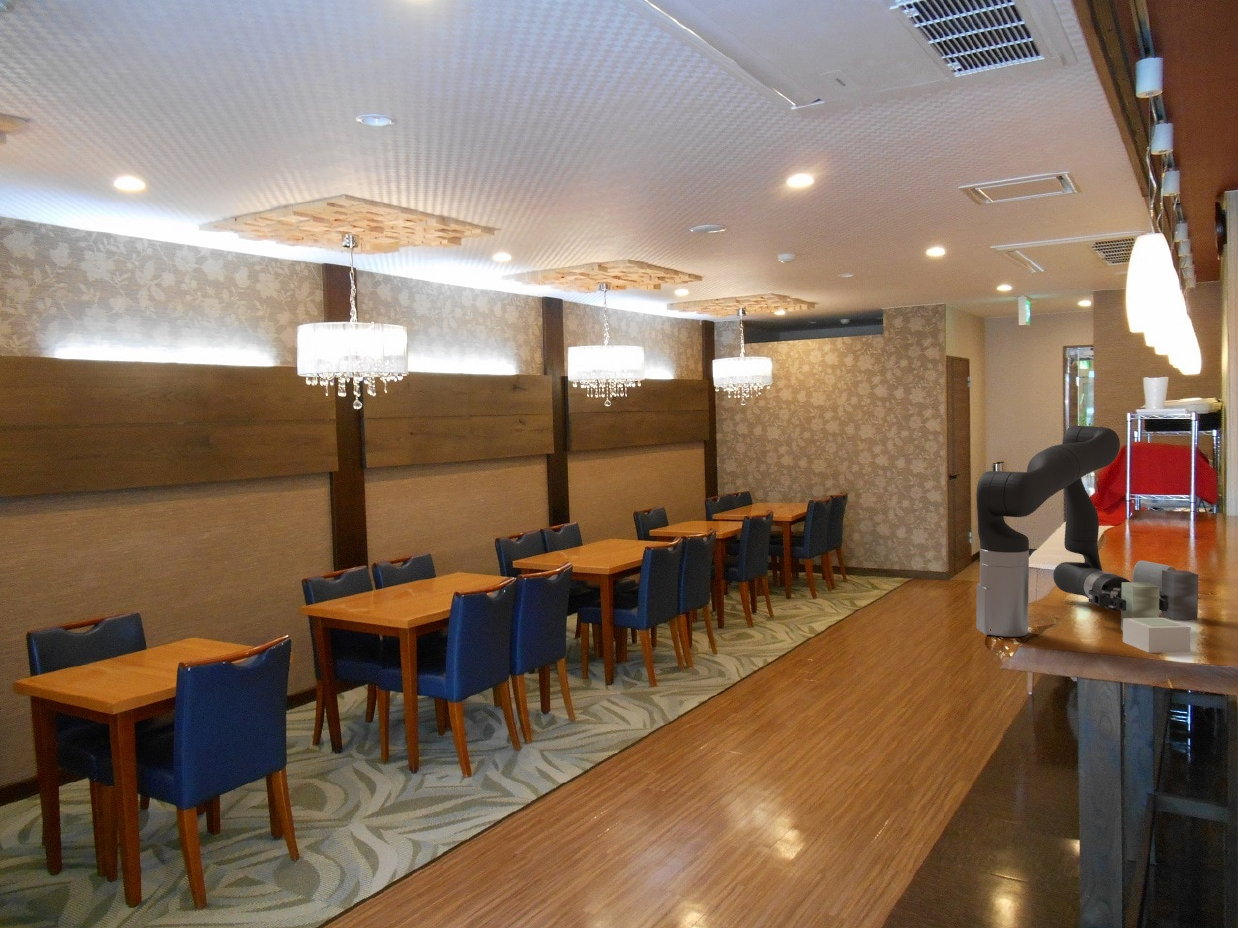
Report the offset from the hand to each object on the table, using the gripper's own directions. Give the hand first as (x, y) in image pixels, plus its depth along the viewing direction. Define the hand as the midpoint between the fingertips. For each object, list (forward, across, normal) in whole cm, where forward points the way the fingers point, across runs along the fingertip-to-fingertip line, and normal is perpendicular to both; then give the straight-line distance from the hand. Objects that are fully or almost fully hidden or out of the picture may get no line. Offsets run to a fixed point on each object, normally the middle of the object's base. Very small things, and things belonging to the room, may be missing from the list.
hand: (1144, 605), depth 178 cm
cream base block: (+9, -2, +6) cm, 11 cm away
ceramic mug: (-47, +24, +6) cm, 53 cm away
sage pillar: (-2, 0, +6) cm, 6 cm away
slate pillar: (-17, +15, +6) cm, 24 cm away
